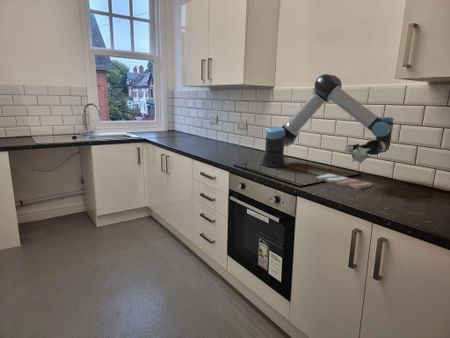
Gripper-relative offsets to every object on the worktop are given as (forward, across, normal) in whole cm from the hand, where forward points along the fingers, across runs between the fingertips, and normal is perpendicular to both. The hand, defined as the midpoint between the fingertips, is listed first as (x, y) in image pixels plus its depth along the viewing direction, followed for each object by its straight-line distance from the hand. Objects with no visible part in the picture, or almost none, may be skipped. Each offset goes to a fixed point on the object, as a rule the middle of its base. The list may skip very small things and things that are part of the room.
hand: (354, 151), depth 147 cm
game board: (-5, +6, -18) cm, 19 cm away
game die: (-5, -1, -6) cm, 8 cm away
